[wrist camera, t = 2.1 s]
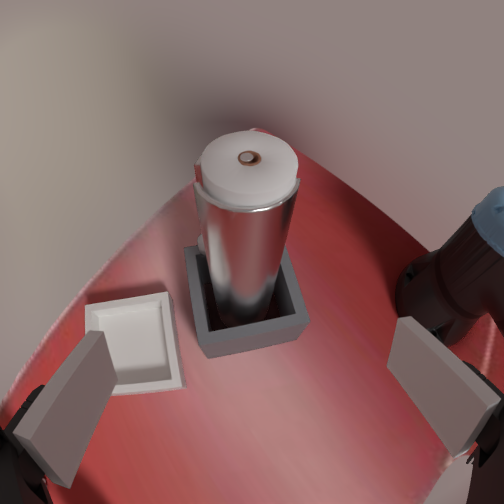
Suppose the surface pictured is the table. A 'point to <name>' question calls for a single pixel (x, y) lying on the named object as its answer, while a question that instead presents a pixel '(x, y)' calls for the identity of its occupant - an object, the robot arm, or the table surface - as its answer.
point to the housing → (250, 334)
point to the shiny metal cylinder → (245, 219)
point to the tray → (140, 342)
